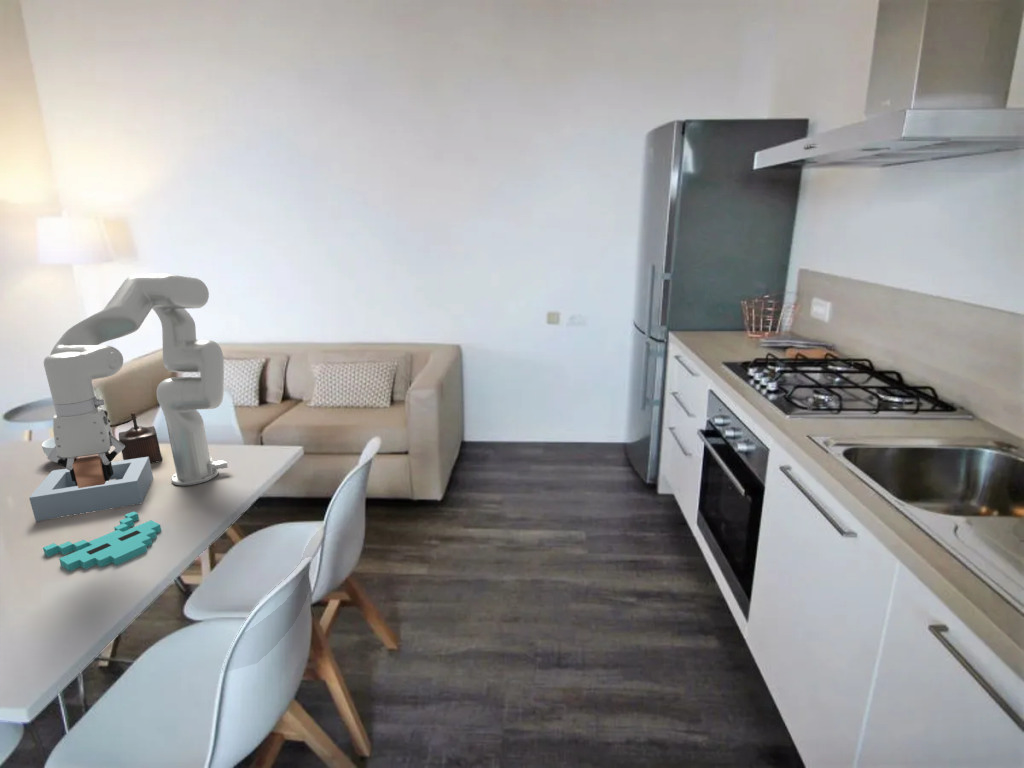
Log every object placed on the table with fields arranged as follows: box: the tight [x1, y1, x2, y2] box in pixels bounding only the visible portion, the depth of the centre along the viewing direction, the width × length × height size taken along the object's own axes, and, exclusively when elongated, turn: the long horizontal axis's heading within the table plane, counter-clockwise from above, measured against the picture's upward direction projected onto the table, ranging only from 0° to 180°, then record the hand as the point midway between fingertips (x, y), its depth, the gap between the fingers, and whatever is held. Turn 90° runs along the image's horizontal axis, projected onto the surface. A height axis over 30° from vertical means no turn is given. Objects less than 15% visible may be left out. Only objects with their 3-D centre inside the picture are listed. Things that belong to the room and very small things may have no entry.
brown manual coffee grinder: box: [103, 409, 163, 464], centre depth 183 cm, size 16×11×18 cm
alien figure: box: [42, 511, 162, 572], centre depth 137 cm, size 20×2×20 cm
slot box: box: [28, 457, 154, 522], centre depth 160 cm, size 24×18×7 cm
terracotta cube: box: [72, 454, 106, 488], centre depth 131 cm, size 5×5×6 cm
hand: (94, 480), depth 132 cm, fingers closed on terracotta cube, 5 cm apart
